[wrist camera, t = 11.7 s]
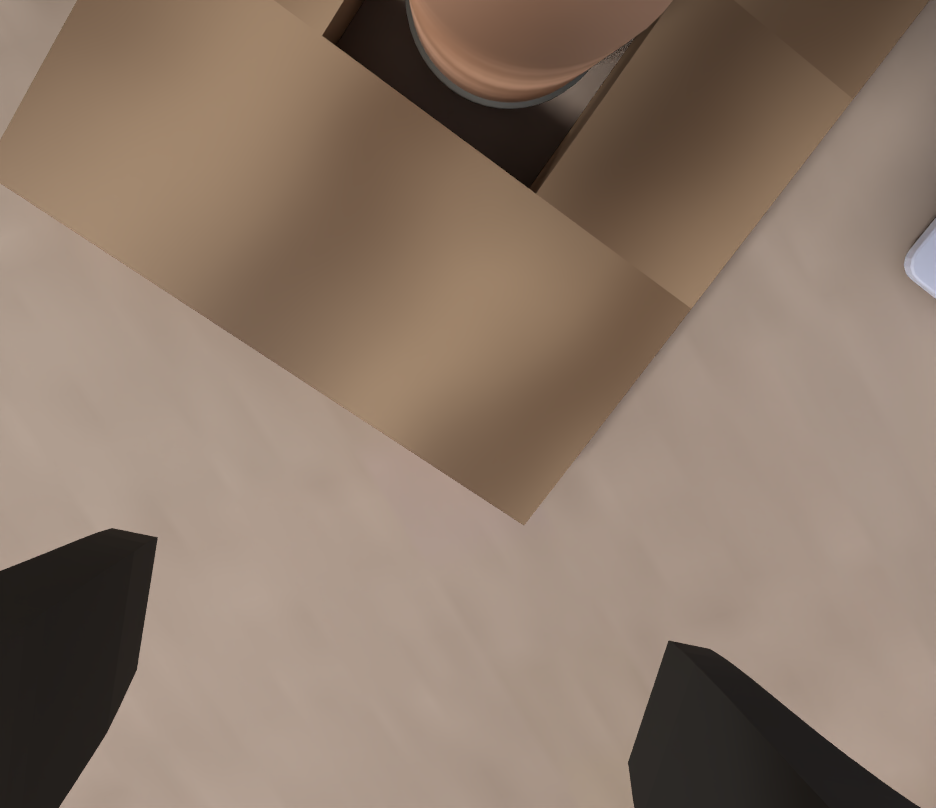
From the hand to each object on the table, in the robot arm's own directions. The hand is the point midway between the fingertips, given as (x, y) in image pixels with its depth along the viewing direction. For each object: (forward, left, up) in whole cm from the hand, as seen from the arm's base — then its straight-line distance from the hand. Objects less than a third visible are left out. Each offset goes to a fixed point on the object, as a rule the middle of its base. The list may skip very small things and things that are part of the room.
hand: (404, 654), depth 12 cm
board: (+4, -9, -10) cm, 14 cm away
